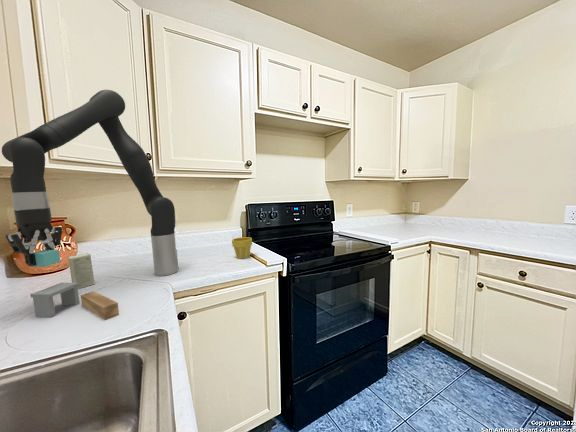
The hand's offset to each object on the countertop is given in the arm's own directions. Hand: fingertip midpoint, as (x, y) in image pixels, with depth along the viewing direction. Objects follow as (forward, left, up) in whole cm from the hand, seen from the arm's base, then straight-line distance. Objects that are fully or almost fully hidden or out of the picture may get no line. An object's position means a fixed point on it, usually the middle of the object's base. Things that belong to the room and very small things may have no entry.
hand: (41, 262), depth 75 cm
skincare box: (-19, -6, -15) cm, 25 cm away
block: (0, +1, -1) cm, 1 cm away
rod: (0, +18, -15) cm, 23 cm away
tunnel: (0, +4, -15) cm, 15 cm away
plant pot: (-58, +47, -15) cm, 76 cm away
